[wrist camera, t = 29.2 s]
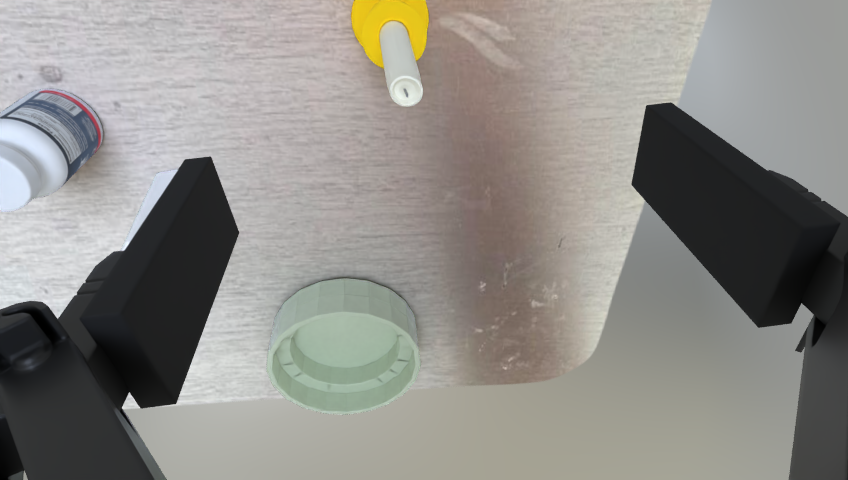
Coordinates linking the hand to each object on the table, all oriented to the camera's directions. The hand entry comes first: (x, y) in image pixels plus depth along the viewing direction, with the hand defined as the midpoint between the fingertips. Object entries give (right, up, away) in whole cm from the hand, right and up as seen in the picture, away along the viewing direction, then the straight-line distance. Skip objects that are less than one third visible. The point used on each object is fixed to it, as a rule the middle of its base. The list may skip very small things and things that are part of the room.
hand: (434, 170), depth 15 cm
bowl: (-8, -11, +35) cm, 37 cm away
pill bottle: (-26, +6, +20) cm, 34 cm away
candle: (-3, +13, +18) cm, 23 cm away
